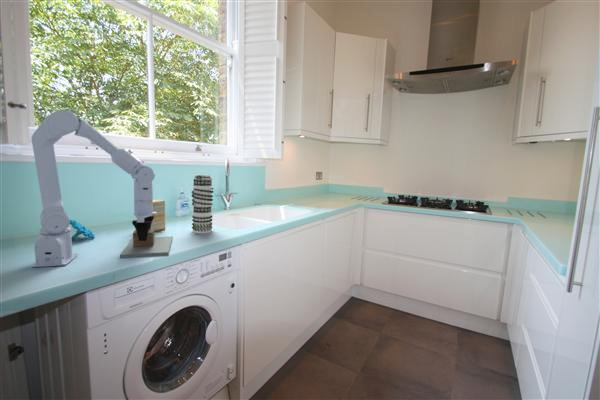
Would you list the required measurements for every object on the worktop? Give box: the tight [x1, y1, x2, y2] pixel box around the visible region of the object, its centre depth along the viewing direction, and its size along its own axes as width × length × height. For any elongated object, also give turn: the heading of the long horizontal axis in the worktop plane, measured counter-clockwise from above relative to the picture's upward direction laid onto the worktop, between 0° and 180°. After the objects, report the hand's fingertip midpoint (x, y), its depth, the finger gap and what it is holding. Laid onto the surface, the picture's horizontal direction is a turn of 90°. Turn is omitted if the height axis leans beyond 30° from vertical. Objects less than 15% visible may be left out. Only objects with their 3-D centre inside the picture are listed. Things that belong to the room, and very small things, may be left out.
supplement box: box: [150, 199, 166, 232], centre depth 125 cm, size 8×5×13 cm, turn 149°
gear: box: [69, 219, 96, 241], centre depth 108 cm, size 11×6×10 cm
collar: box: [132, 229, 155, 247], centre depth 102 cm, size 5×6×5 cm
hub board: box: [119, 235, 173, 259], centre depth 103 cm, size 20×14×5 cm
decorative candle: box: [191, 174, 214, 234], centre depth 128 cm, size 9×9×25 cm
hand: (144, 238), depth 102 cm, fingers open, 6 cm apart
